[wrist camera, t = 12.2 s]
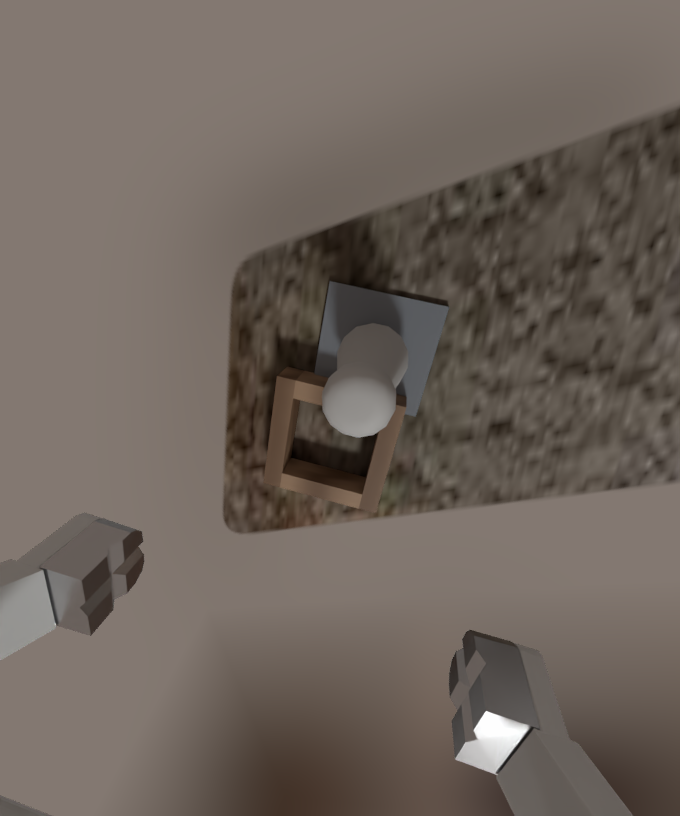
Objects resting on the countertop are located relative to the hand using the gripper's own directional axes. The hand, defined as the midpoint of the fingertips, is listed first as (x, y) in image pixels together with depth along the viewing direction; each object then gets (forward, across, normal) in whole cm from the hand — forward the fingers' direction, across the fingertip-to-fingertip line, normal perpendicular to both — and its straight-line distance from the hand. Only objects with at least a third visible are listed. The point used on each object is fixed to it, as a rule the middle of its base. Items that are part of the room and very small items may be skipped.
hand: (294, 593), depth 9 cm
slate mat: (+25, 0, 0) cm, 25 cm away
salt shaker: (+25, 0, 0) cm, 25 cm away
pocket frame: (+25, +2, +9) cm, 27 cm away
